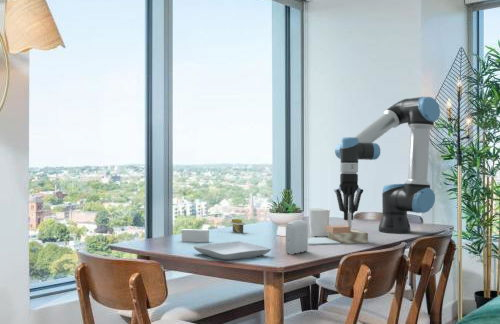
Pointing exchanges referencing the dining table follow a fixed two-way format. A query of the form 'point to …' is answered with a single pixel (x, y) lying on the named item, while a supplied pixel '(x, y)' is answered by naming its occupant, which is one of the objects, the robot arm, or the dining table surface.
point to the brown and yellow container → (237, 225)
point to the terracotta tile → (338, 229)
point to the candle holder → (318, 222)
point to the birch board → (349, 237)
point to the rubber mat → (321, 241)
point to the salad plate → (232, 250)
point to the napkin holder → (195, 235)
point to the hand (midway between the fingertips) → (348, 227)
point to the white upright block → (296, 236)
